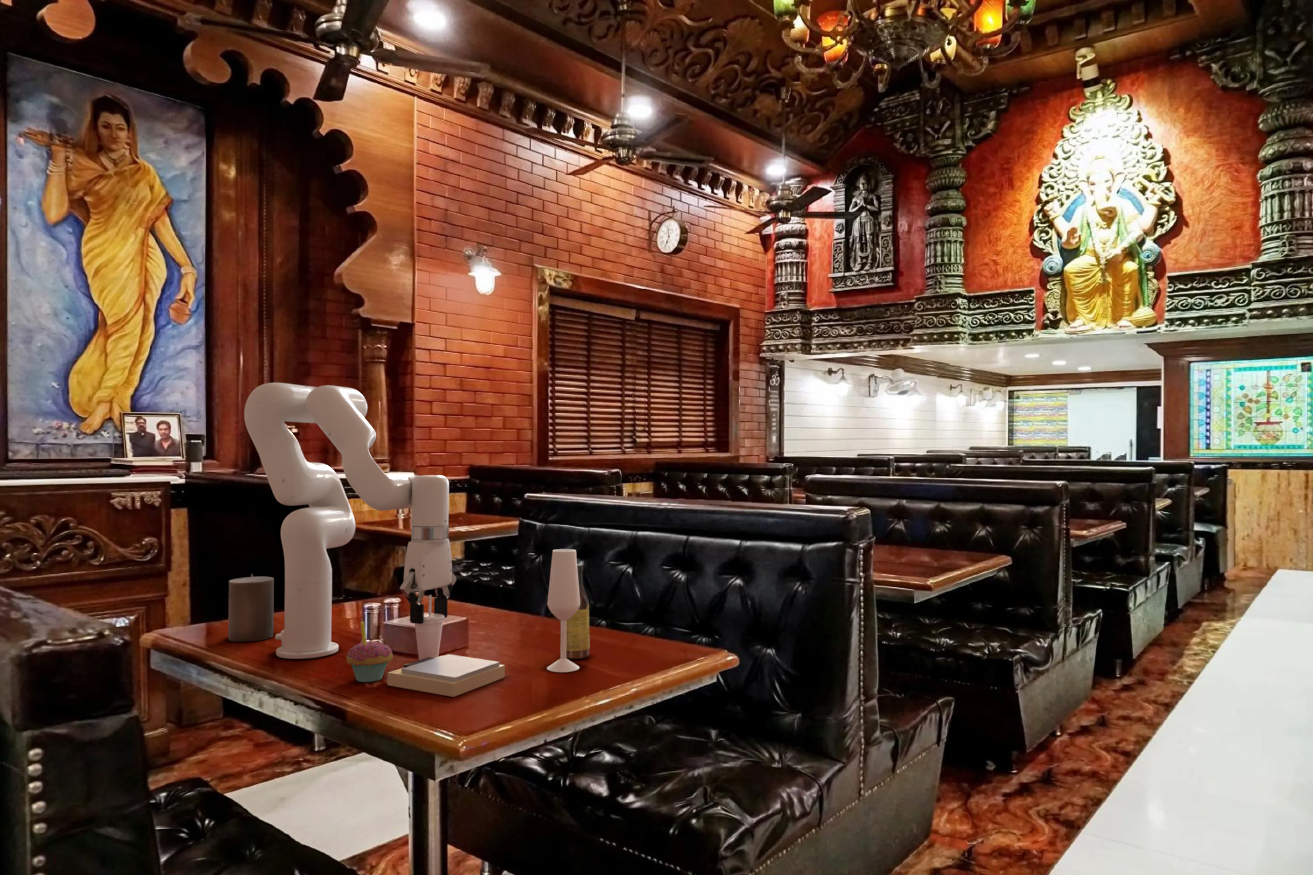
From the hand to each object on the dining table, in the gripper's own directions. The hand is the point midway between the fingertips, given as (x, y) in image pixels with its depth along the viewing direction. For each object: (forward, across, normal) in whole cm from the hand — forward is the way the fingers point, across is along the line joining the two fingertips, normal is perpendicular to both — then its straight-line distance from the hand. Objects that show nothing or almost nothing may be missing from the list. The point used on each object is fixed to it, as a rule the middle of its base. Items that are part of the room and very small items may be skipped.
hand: (428, 619), depth 174 cm
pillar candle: (+9, +2, -53) cm, 54 cm away
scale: (+9, +9, +13) cm, 18 cm away
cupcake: (+9, +15, -1) cm, 18 cm away
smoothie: (+9, 0, 0) cm, 9 cm away
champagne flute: (+9, -10, +27) cm, 30 cm away
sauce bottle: (+9, -19, +24) cm, 32 cm away
